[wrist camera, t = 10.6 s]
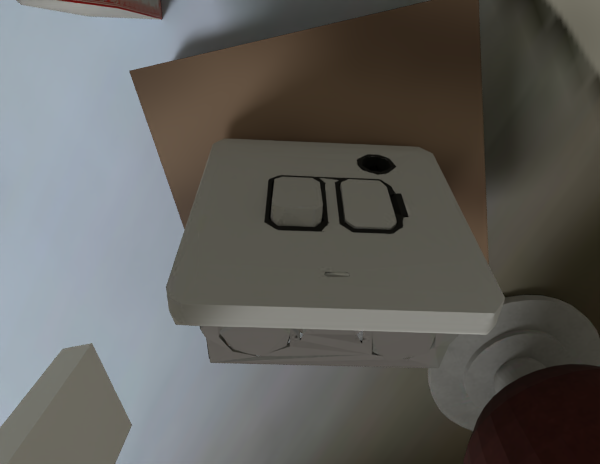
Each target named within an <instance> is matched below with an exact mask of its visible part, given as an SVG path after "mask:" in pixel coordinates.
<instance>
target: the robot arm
mask: <svg viewBox="0 0 600 464" xmlns="http://www.w3.org/2000/svg"><path fill="white" fill-rule="evenodd" d="M131 426H132V424H131V422H130V420H129V418H128V416H127V414H126V412H125V410H124V408H123V406H122V404H121V402H120V400H119V398H118V396H117V394H116V392H115V390H114V387H113V385H112V383H111V381H110V379H109V377H108V375H107V373H106V371H105V369H104V367H103V365H102V363H101V361H100V359H99V357H98V355H97V353H96V351H95V348H94V346H93V344H92V343H91V344H86V345H81V346H75V347H70V348H65V349H62V350H61V352H60V353H59V354H58V355H57V357H56V358H55V359H54V361H53V362H52V363H51V364H50V366H49V367H48V368H47V369H46V371H45V372H44V373H43V374H42V376H41V377H40V378H39V379H38V381H37V382H36V383H35V385H34V386H33V387H32V388H31V390H30V391H29V392H28V393H27V395H26V396H25V397H24V398H23V400H22V401H21V402H20V403H19V405H18V406H17V407H16V409H15V410H14V411H13V412H12V414H11V415H10V416H9V417H8V419H7V420H6V421H5V422H4V424H3V425H2V426H1V427H0V464H115V463H116V460H117V458H118V456H119V453H120V451H121V449H122V447H123V444H124V442H125V440H126V437H127V435H128V433H129V431H130V428H131Z"/></svg>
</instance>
